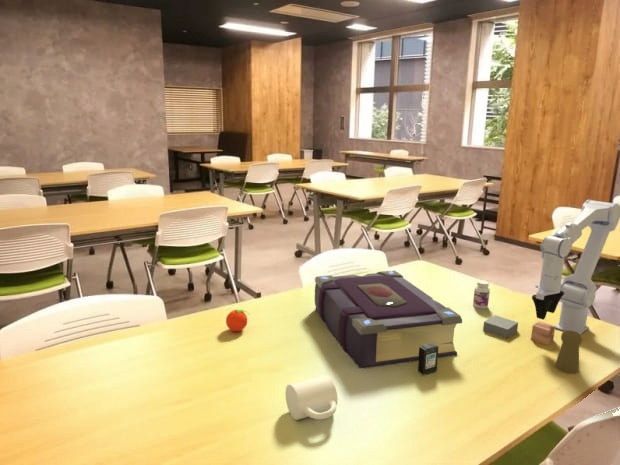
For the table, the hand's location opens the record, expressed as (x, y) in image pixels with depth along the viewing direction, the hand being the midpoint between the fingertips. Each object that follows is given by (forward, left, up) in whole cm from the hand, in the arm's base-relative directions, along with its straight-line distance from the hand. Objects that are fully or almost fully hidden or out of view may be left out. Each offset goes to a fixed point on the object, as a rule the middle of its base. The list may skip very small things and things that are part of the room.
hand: (545, 315), depth 146 cm
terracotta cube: (0, 0, -9) cm, 9 cm away
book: (+35, -40, -9) cm, 53 cm away
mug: (+82, -19, -9) cm, 85 cm away
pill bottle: (-11, -27, -9) cm, 30 cm away
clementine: (+70, -69, -9) cm, 99 cm away
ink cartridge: (+45, -13, -9) cm, 48 cm away
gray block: (+4, -12, -9) cm, 15 cm away
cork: (+13, +12, -9) cm, 20 cm away
